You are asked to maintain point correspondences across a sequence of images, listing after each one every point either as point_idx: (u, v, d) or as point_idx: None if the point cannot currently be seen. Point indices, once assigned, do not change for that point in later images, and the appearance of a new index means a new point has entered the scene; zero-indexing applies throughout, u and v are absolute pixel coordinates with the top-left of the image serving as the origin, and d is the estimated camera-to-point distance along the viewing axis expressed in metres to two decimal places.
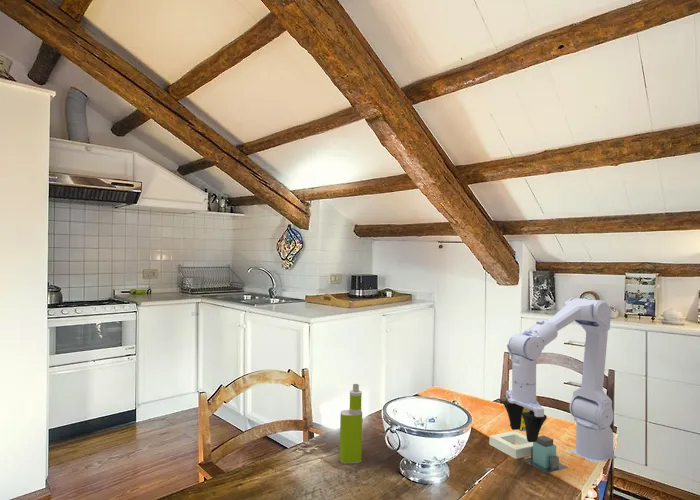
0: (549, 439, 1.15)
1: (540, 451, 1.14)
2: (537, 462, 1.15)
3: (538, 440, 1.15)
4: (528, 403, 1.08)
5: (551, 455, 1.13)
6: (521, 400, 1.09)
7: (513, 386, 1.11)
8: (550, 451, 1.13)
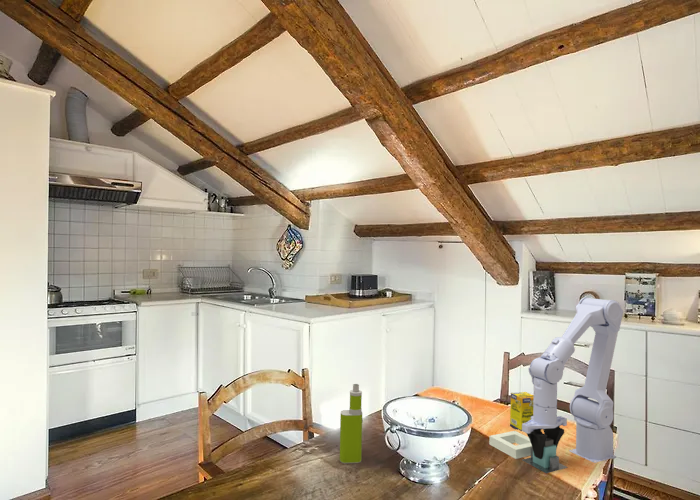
0: (549, 439, 1.15)
1: None
2: (537, 462, 1.15)
3: None
4: (535, 422, 1.15)
5: (551, 455, 1.13)
6: (533, 418, 1.16)
7: None
8: (550, 451, 1.13)
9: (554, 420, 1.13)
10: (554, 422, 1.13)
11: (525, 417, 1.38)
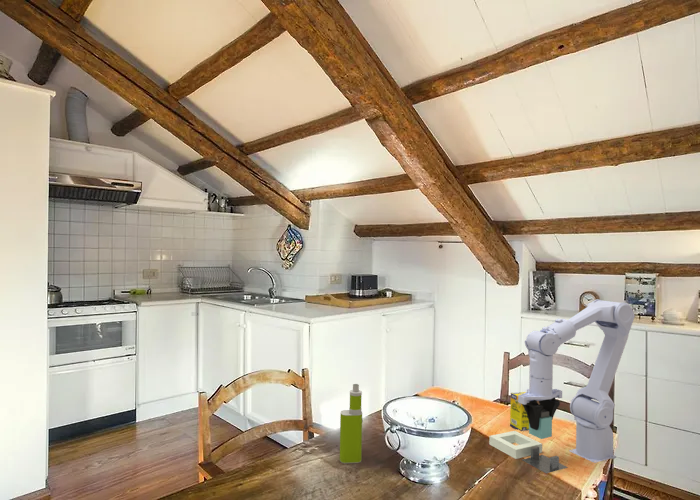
0: (545, 411, 1.16)
1: None
2: (533, 433, 1.16)
3: None
4: (531, 394, 1.16)
5: (547, 426, 1.15)
6: (529, 390, 1.18)
7: None
8: (546, 423, 1.15)
9: (550, 391, 1.14)
10: (550, 393, 1.14)
11: (525, 417, 1.38)
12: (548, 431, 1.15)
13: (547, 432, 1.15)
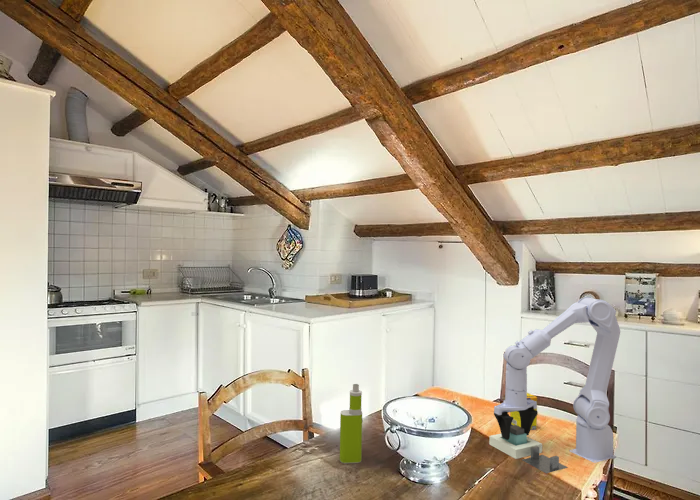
0: (520, 428, 1.24)
1: (512, 439, 1.23)
2: None
3: (510, 429, 1.24)
4: (506, 405, 1.24)
5: (522, 443, 1.22)
6: (505, 401, 1.25)
7: None
8: (521, 439, 1.22)
9: (524, 403, 1.22)
10: (524, 404, 1.22)
11: None
12: None
13: None
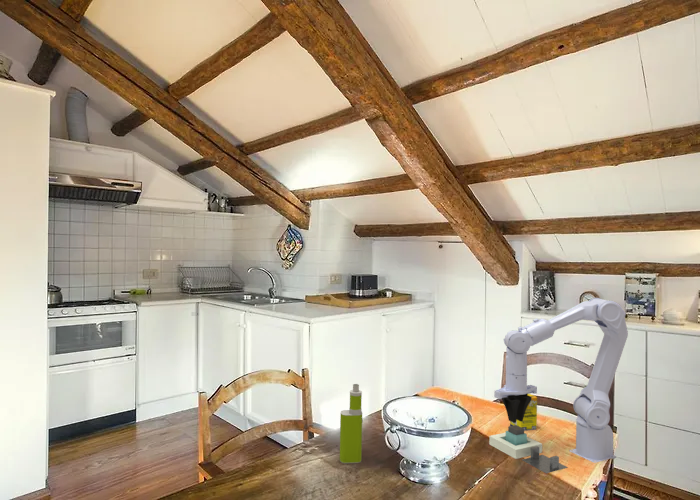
0: (520, 428, 1.23)
1: (512, 439, 1.23)
2: None
3: (510, 429, 1.24)
4: (506, 389, 1.24)
5: (522, 443, 1.22)
6: (505, 386, 1.25)
7: None
8: (521, 439, 1.22)
9: (524, 387, 1.22)
10: (524, 389, 1.22)
11: (525, 417, 1.38)
12: None
13: None
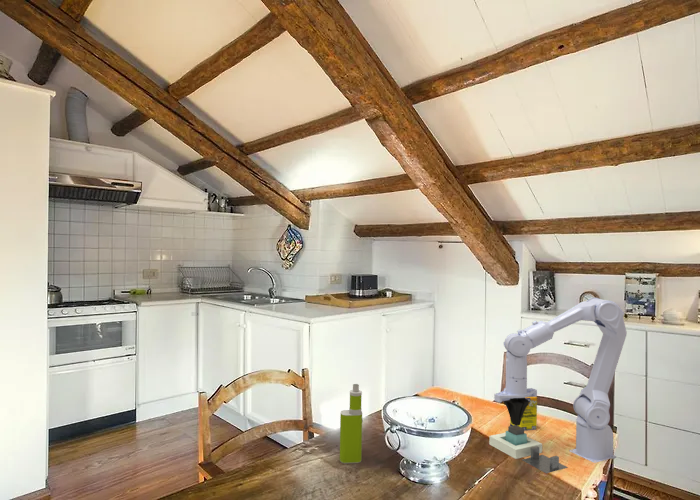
0: (520, 428, 1.24)
1: (512, 439, 1.23)
2: None
3: (510, 429, 1.24)
4: (506, 392, 1.24)
5: (522, 443, 1.22)
6: (505, 389, 1.25)
7: None
8: (521, 439, 1.22)
9: (524, 390, 1.22)
10: (524, 392, 1.22)
11: (525, 417, 1.38)
12: None
13: None
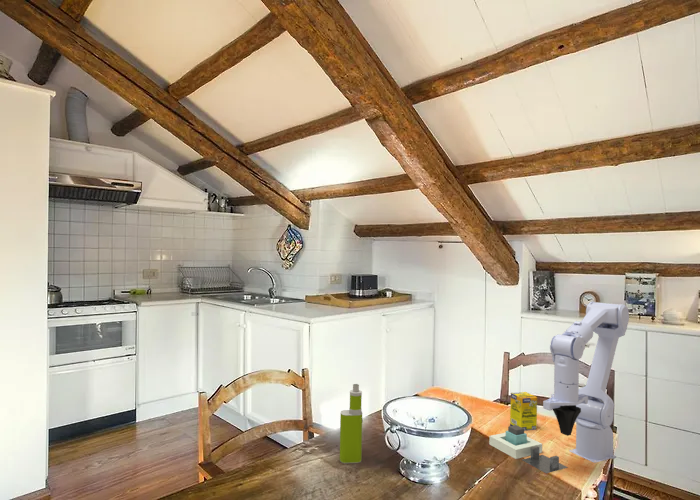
0: (520, 428, 1.24)
1: (512, 439, 1.23)
2: None
3: (510, 429, 1.24)
4: (556, 399, 1.12)
5: (522, 443, 1.22)
6: (554, 395, 1.14)
7: None
8: (521, 439, 1.22)
9: (576, 397, 1.11)
10: (576, 399, 1.11)
11: (525, 417, 1.38)
12: None
13: None
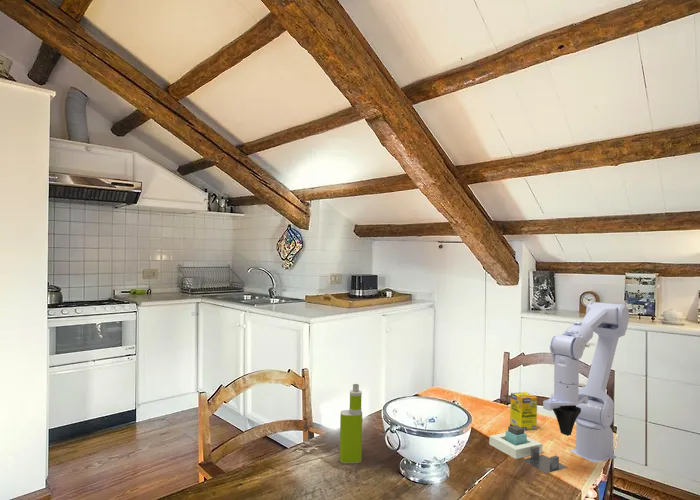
0: (520, 428, 1.23)
1: (512, 439, 1.23)
2: None
3: (510, 429, 1.24)
4: (556, 399, 1.12)
5: (522, 443, 1.22)
6: (554, 395, 1.14)
7: None
8: (521, 439, 1.22)
9: (576, 397, 1.11)
10: (576, 399, 1.11)
11: (525, 417, 1.38)
12: None
13: None
